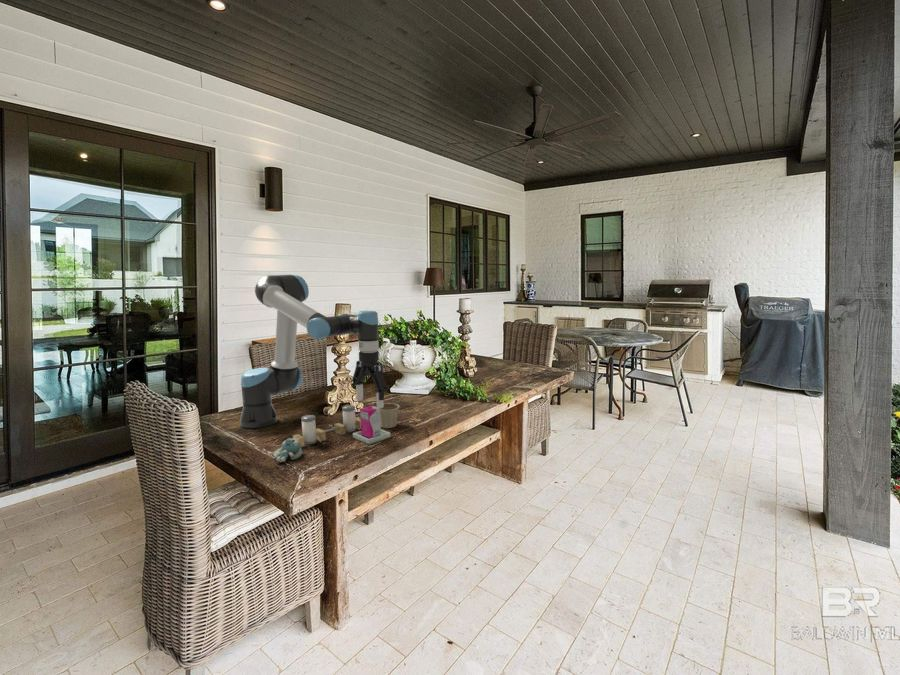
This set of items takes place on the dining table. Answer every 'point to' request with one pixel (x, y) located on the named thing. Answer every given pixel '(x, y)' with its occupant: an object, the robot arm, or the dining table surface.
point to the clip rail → (321, 433)
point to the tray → (372, 440)
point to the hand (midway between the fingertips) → (369, 404)
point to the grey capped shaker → (349, 418)
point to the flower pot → (389, 415)
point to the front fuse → (309, 429)
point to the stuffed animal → (288, 450)
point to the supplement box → (370, 422)
